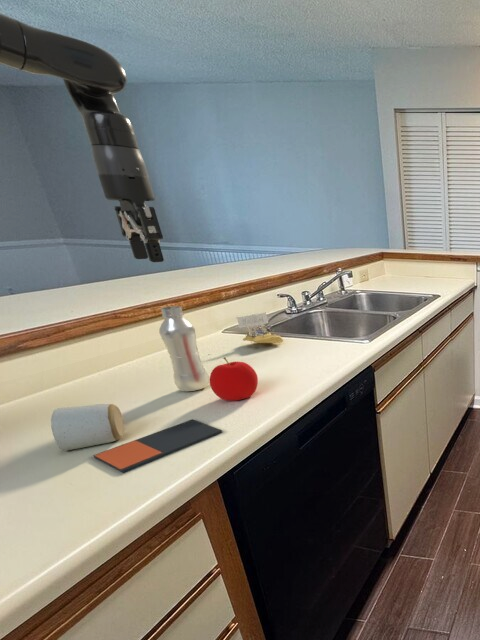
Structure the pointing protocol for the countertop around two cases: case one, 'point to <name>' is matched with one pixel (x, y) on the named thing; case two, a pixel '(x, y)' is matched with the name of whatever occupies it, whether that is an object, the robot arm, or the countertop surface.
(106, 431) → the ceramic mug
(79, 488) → the countertop surface
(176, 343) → the plastic bottle
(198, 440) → the mat
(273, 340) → the model sailing ship
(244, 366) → the fruit
